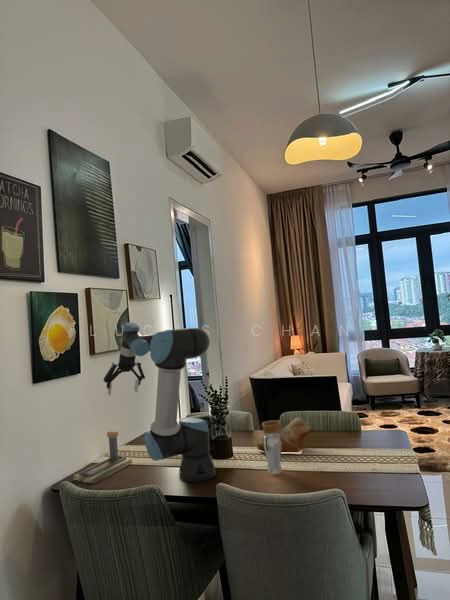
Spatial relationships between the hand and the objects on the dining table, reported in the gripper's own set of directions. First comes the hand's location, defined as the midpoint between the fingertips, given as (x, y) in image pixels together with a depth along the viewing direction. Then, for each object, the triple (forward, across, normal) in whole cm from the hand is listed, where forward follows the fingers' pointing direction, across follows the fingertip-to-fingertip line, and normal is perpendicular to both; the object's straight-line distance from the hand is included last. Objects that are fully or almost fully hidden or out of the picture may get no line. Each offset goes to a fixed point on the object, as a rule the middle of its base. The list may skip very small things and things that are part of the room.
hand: (122, 392), depth 209 cm
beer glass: (0, -41, +73) cm, 84 cm away
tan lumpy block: (+6, -61, +57) cm, 84 cm away
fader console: (+24, +13, +24) cm, 37 cm away
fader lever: (+23, +7, +20) cm, 32 cm away
